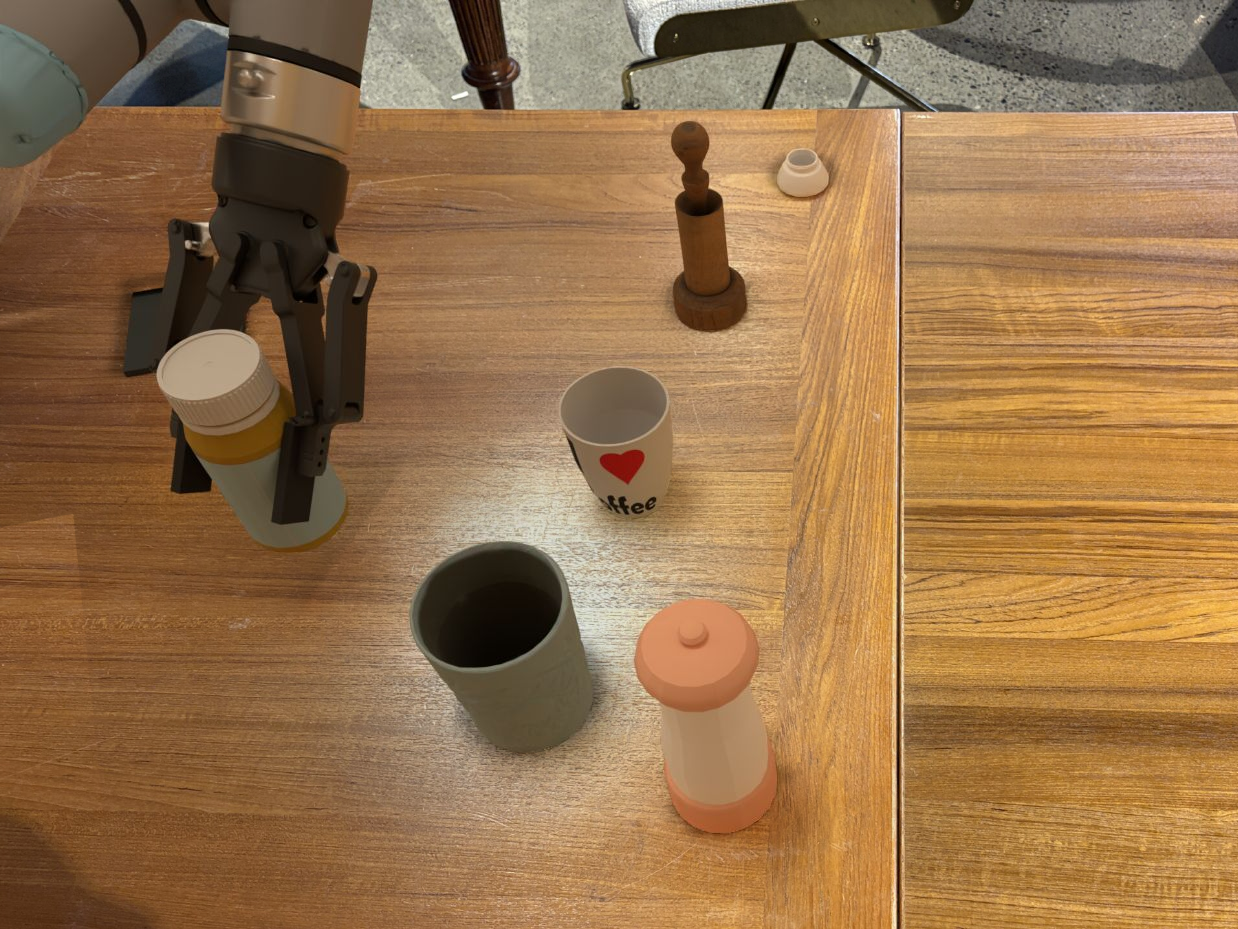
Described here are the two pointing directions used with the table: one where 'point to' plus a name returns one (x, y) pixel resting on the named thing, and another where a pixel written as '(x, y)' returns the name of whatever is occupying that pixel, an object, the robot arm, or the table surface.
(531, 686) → the grey cylindrical pot
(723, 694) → the pepper shaker
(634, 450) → the cup
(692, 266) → the mortar and pestle
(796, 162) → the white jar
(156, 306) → the mat
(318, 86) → the robot arm
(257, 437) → the bottle
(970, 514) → the table surface
